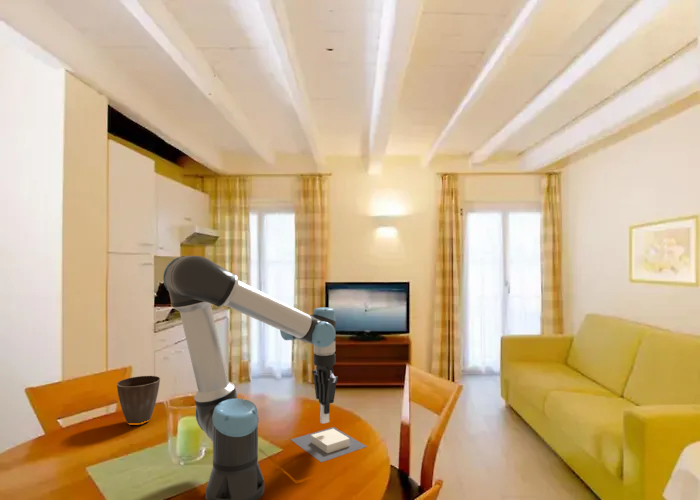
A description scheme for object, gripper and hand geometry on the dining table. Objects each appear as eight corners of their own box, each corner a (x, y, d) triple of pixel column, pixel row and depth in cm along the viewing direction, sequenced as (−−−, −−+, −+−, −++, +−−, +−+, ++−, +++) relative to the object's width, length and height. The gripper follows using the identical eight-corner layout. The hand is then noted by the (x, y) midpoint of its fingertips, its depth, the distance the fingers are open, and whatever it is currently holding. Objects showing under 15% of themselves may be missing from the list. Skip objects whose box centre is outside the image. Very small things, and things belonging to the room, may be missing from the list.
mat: (321, 464, 127) (321, 462, 127) (290, 441, 143) (290, 439, 143) (367, 448, 137) (367, 446, 137) (333, 428, 153) (333, 426, 153)
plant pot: (106, 427, 155) (107, 384, 155) (137, 413, 169) (138, 374, 169) (139, 432, 150) (139, 388, 151) (168, 417, 164) (168, 377, 165)
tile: (311, 442, 140) (327, 453, 132) (311, 434, 140) (327, 445, 132) (333, 435, 145) (349, 446, 137) (333, 428, 146) (349, 438, 137)
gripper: (344, 354, 139) (344, 425, 139) (323, 348, 150) (323, 414, 149) (325, 358, 135) (325, 431, 134) (305, 351, 145) (305, 418, 145)
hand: (324, 422), depth 142 cm, fingers closed
